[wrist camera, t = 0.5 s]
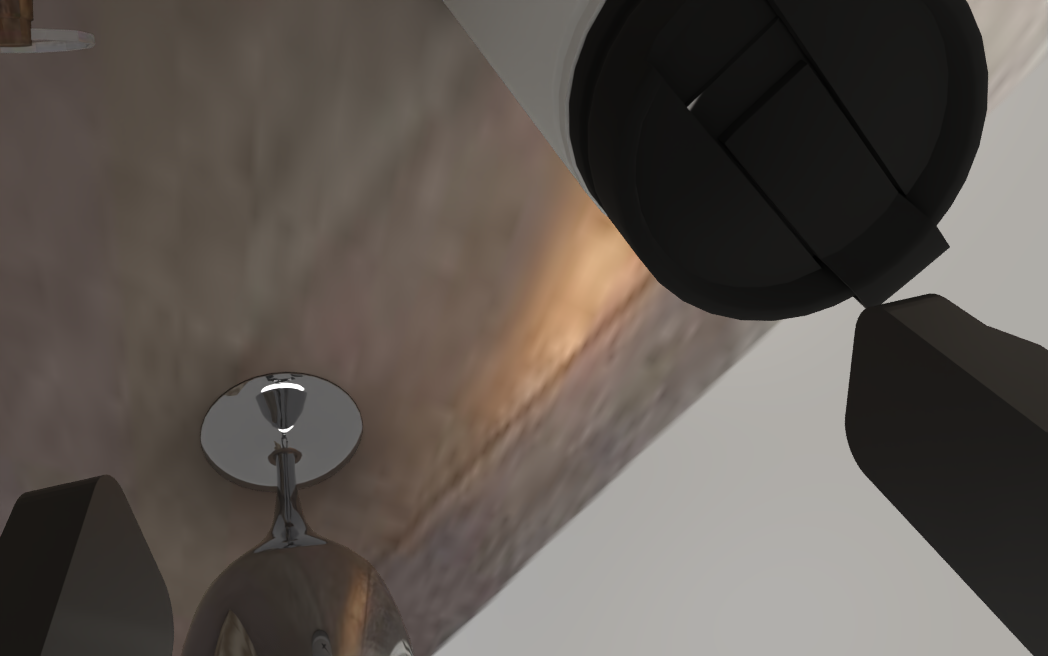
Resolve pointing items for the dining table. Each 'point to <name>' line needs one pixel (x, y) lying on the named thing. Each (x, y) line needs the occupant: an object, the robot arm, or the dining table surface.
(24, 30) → the coffee pot
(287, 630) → the wine glass
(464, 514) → the dining table surface
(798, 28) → the travel mug
